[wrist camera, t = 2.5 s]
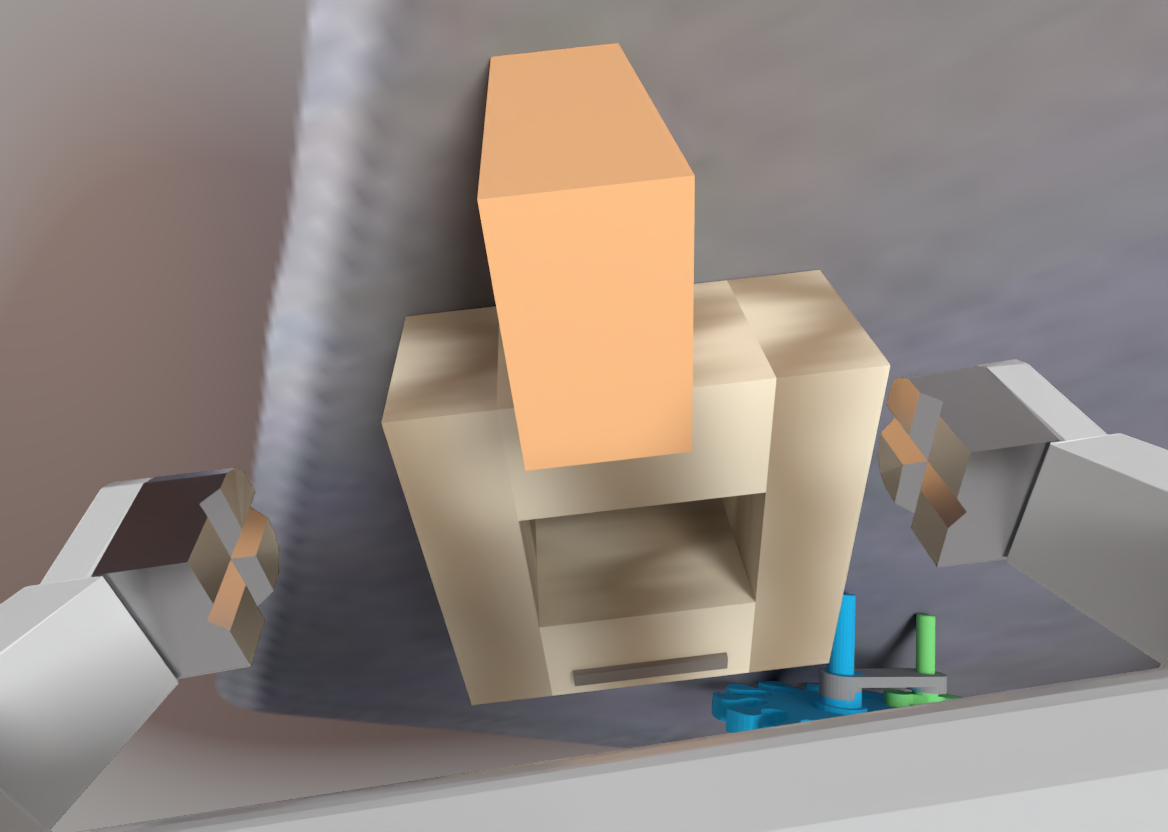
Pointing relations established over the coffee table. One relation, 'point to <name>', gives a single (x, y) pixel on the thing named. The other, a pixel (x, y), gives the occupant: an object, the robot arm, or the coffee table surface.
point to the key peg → (588, 257)
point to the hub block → (645, 501)
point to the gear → (837, 684)
